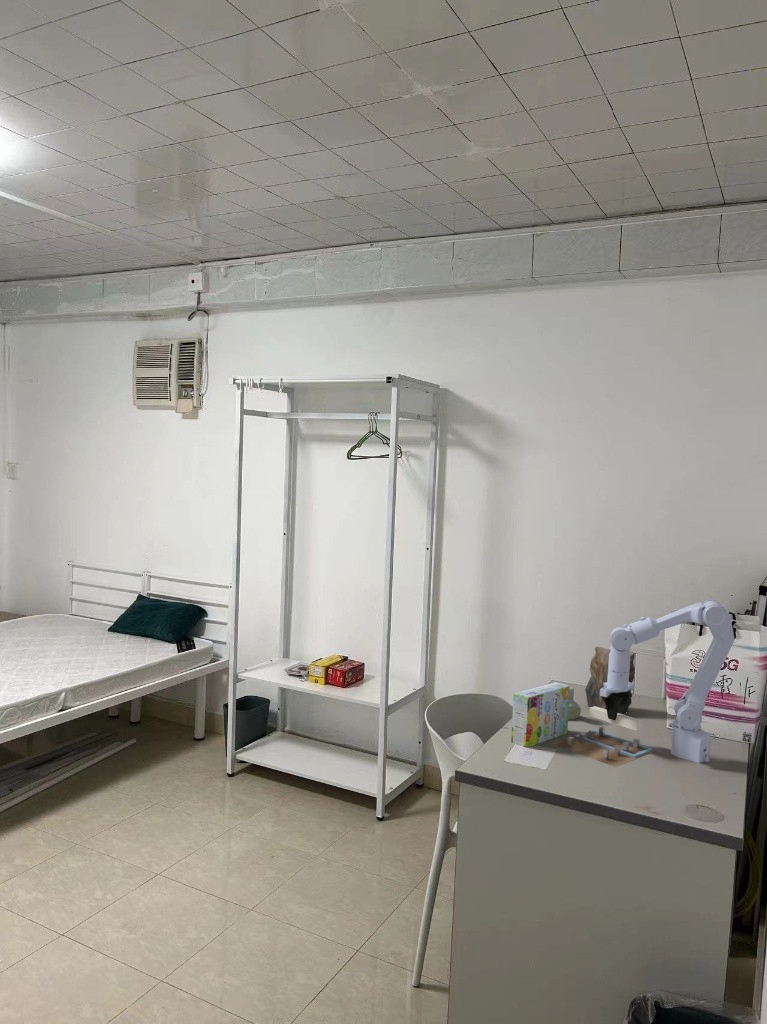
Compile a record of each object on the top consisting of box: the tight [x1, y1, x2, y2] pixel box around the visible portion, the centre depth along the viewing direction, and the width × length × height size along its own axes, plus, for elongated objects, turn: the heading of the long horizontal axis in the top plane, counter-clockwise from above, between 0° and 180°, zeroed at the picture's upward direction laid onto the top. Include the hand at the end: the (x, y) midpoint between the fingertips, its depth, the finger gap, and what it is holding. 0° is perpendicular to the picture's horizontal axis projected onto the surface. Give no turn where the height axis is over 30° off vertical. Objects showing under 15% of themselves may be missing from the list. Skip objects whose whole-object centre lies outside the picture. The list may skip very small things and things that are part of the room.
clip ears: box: [567, 726, 641, 760], centre depth 210 cm, size 12×17×2 cm
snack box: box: [510, 681, 571, 748], centre depth 215 cm, size 21×6×15 cm, turn 134°
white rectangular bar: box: [589, 706, 644, 732], centre depth 213 cm, size 15×3×2 cm, turn 42°
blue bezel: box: [573, 729, 654, 758], centre depth 213 cm, size 19×10×1 cm, turn 42°
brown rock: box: [585, 646, 636, 714], centre depth 249 cm, size 13×13×20 cm
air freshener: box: [568, 685, 582, 720], centre depth 237 cm, size 11×8×10 cm
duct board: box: [550, 733, 656, 768], centre depth 210 cm, size 20×21×1 cm
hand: (615, 718), depth 213 cm, fingers closed on white rectangular bar, 3 cm apart
